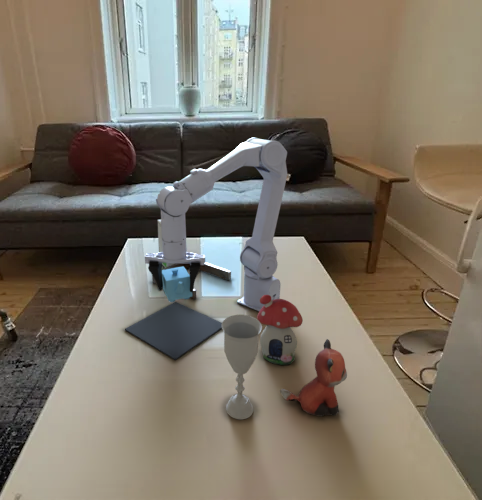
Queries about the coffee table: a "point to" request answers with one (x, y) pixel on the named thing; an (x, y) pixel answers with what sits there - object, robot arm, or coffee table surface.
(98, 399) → the coffee table surface
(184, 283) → the teapot
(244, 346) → the chalice
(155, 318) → the placemat
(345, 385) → the coffee table surface
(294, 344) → the decorative ornament
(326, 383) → the stuffed fox
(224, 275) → the brown u-shaped frame
